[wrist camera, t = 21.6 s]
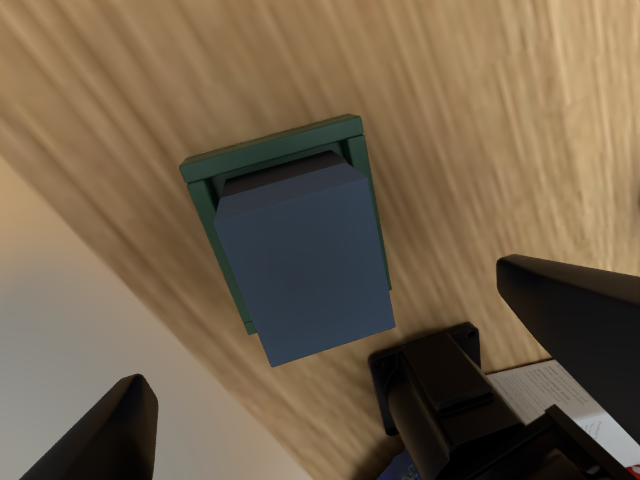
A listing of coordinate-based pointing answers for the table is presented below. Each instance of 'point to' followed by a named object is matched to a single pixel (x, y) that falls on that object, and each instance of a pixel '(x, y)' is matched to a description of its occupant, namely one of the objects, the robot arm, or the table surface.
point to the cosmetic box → (564, 405)
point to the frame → (218, 165)
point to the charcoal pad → (281, 172)
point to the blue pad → (307, 261)
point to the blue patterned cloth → (400, 469)
